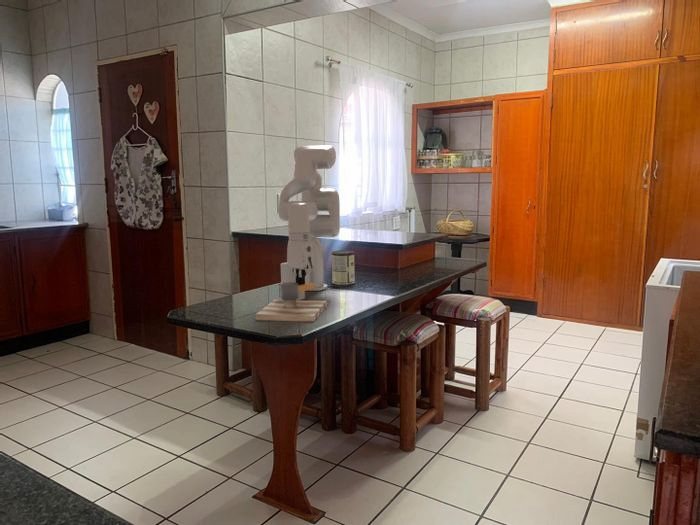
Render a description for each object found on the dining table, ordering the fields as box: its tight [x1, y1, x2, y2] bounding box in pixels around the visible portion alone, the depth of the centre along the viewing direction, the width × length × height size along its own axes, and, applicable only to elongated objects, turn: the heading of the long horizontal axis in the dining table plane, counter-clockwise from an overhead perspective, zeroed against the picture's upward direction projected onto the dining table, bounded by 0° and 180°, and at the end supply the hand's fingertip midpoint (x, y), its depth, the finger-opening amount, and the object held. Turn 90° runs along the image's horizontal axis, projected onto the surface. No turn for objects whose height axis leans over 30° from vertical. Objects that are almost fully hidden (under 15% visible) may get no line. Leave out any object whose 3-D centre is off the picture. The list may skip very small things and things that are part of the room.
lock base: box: [255, 299, 328, 323], centre depth 191 cm, size 22×20×5 cm
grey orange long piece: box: [280, 282, 315, 300], centre depth 193 cm, size 14×6×5 cm, turn 135°
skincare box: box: [280, 262, 306, 300], centre depth 211 cm, size 8×6×15 cm
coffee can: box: [331, 249, 356, 286], centre depth 244 cm, size 10×10×14 cm
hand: (300, 287), depth 197 cm, fingers closed
